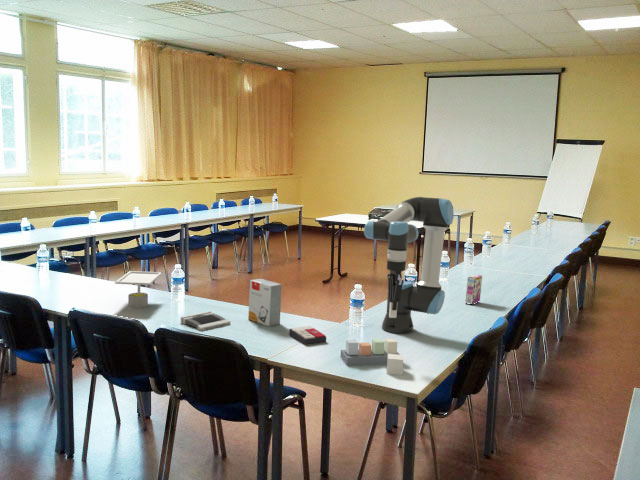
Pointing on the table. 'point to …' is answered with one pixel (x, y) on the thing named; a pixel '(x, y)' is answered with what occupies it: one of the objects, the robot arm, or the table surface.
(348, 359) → the key panel
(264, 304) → the hard drive box
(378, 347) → the key green
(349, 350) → the key bluegrey
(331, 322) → the table surface
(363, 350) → the key terracotta
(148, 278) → the solar panel model
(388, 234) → the robot arm
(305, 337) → the calculator
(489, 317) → the table surface
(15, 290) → the table surface
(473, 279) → the candy bar box
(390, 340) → the key ivory
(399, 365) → the pale grey cube
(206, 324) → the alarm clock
